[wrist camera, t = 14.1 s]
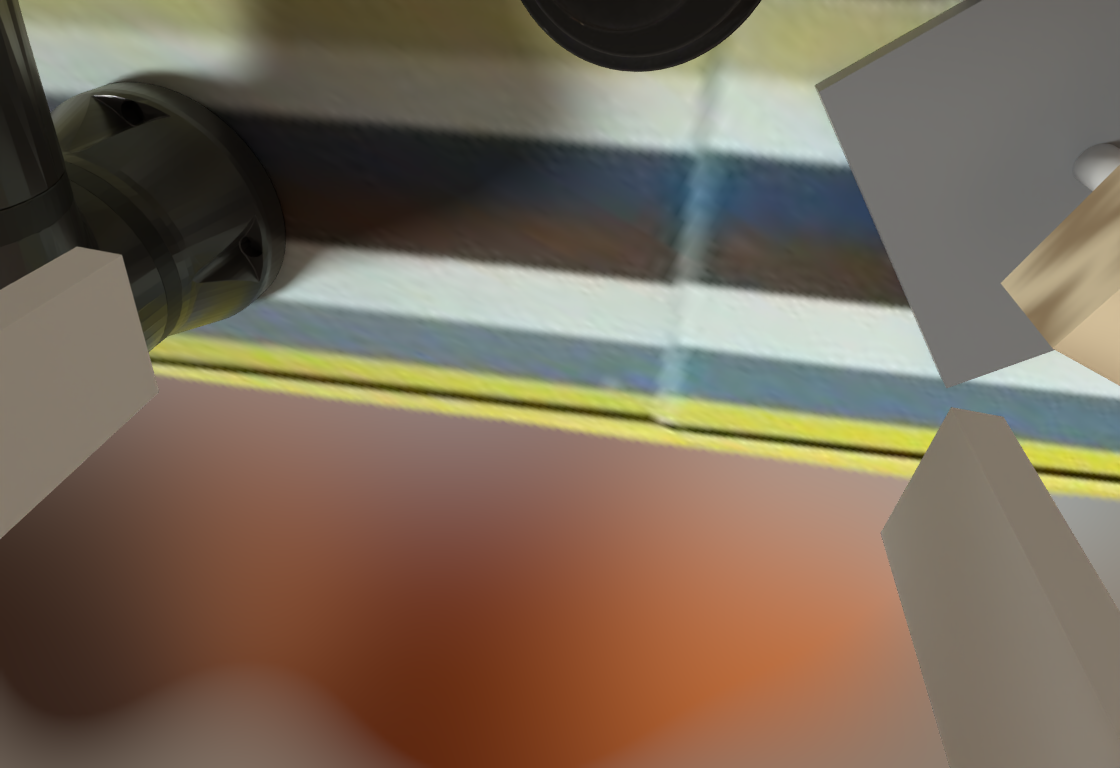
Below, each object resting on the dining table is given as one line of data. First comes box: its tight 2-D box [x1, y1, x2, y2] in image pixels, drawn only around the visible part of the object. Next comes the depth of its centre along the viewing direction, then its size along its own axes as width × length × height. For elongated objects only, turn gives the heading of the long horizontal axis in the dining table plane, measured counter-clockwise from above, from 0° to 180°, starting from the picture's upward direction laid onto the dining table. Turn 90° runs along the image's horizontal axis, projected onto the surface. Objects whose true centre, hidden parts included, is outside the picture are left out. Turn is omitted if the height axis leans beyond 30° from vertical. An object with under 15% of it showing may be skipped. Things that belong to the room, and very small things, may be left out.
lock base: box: [815, 0, 1120, 388], centre depth 33 cm, size 20×20×6 cm
